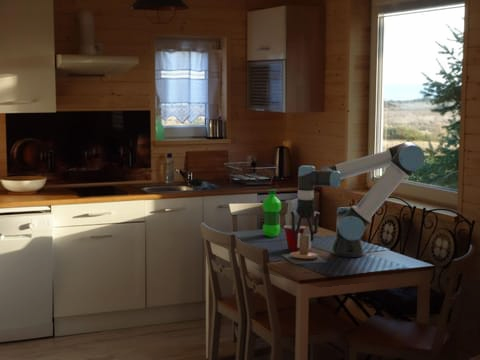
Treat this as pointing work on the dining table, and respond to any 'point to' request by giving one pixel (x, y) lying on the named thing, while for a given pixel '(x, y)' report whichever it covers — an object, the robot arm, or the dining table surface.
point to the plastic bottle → (271, 214)
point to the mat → (303, 260)
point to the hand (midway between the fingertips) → (304, 247)
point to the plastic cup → (293, 237)
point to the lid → (304, 249)
